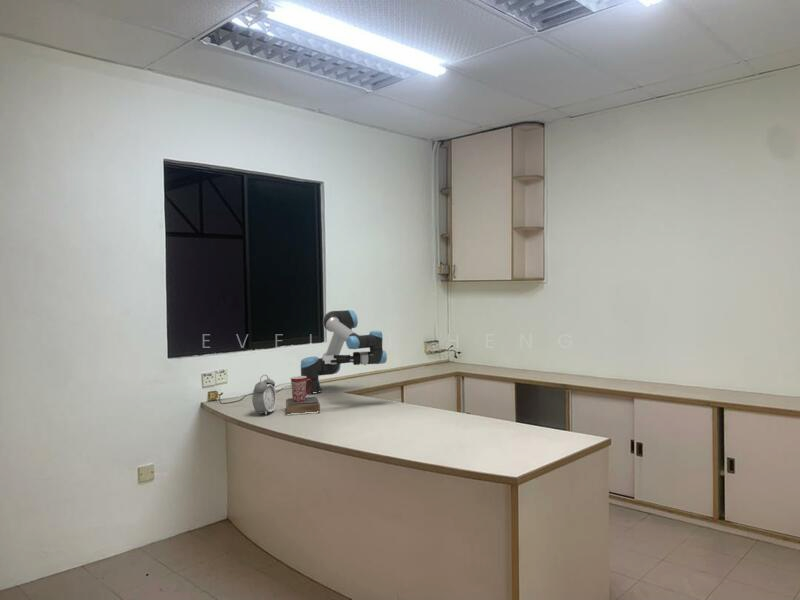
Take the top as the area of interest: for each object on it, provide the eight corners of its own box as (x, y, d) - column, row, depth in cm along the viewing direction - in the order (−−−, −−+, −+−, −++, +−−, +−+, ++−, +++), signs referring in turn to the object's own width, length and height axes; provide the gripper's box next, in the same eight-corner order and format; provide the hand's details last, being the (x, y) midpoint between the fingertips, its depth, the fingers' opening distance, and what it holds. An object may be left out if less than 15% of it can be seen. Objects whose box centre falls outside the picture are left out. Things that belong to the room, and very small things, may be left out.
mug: (294, 403, 311) (294, 379, 311) (288, 400, 319) (288, 376, 318) (315, 400, 318) (314, 376, 317) (309, 397, 325) (308, 374, 325)
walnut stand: (286, 408, 325) (286, 398, 325) (317, 406, 329) (317, 396, 329) (287, 415, 307) (286, 404, 307) (319, 413, 311) (319, 402, 311)
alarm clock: (265, 417, 303) (264, 377, 303) (251, 416, 305) (250, 377, 304) (278, 410, 319) (277, 372, 319) (264, 410, 321) (263, 372, 321)
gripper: (363, 367, 313) (325, 369, 308) (356, 361, 337) (321, 363, 332) (363, 354, 312) (325, 356, 308) (356, 349, 337) (321, 350, 332)
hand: (323, 359), depth 320 cm, fingers open, 13 cm apart
